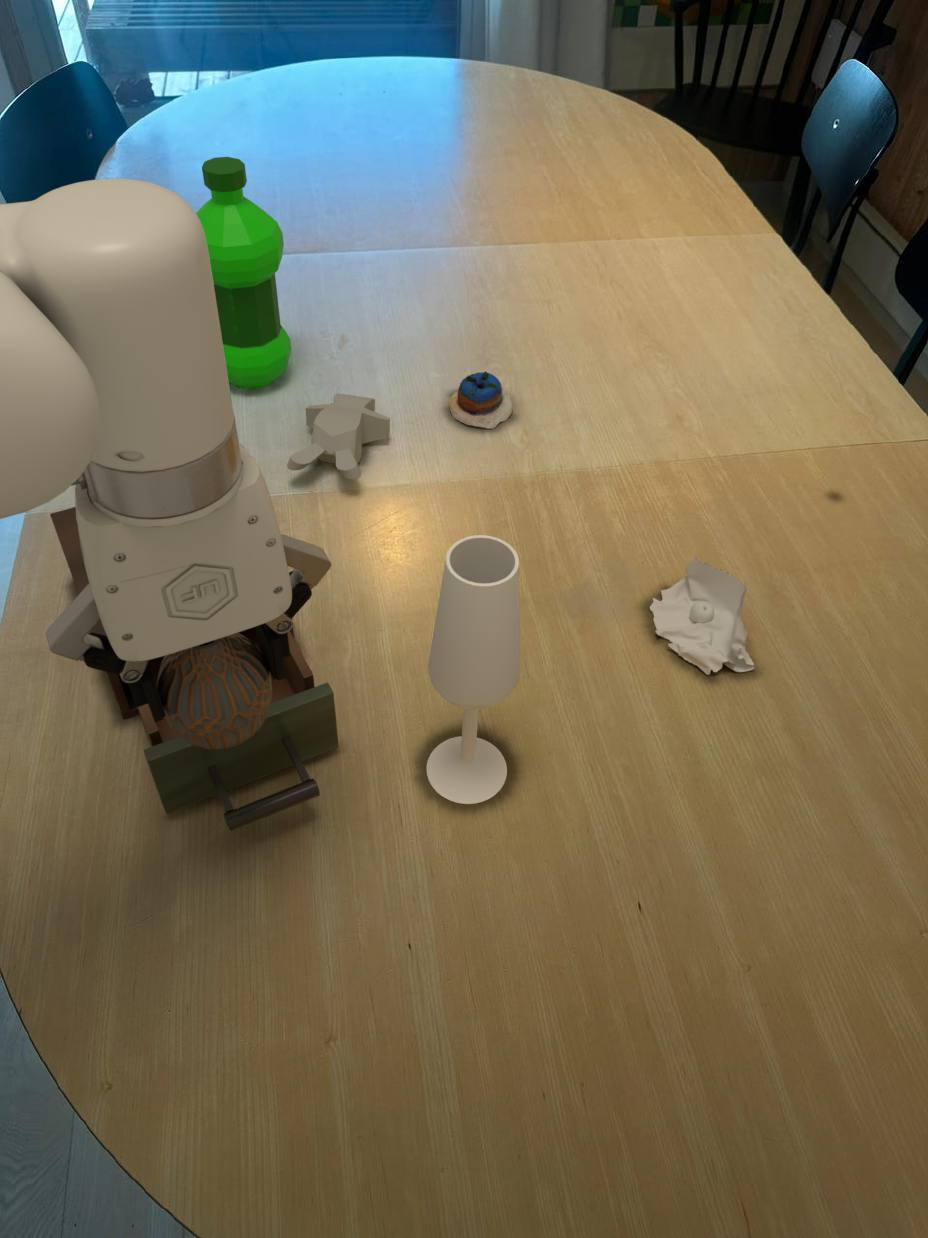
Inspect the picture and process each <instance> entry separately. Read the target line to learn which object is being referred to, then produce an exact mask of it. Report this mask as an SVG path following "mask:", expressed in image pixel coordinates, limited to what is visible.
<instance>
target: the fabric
mask: <svg viewBox="0 0 928 1238" xmlns="http://www.w3.org/2000/svg"><path fill="white" fill-rule="evenodd" d="M685 572H686V576H684V577H683V578H682V579H680V580H678V581H677V582H676V583H675V584H673V585H672V586H671V587H669V588H667V589H661V592H660V593H661V600H659V599H657V598H655V597H652V602H651V605H649V610H650V612H652V615H653V618H652V621H653V624H654V627H655V629H656V630H655V631H654V632H655V634H656V635H657V636H658V637H659V636H660V637H661V638H663V639H666V640H668V641H669V642H670V643H668V644H667V646H668V647H669V648H670V649H671V650H673V651H674V652H675V653H677V654H678V657H679V656H680V657H681V658H683V660H684V661H687V662H688V663H690V664H692V665H693V666H697V667H698V668H699V670H701V671H702V672H703V673H705V675H707V676H710V675H711V671H712V672H713V673H718V671H720V670H721V669H723V666H725V667H727V668H728V669H730V670H732V671H734V672H735V673H747V672H750V671H753V670H754V669H755V668H756V666H755V663H754V662H753V659H752V658H751V656H750V654H749V653H748V652H747V650H746V649H747V642H746V641H747V639H748V638H747V637H748V635H749V632H748V630H747V628H746V626H745V625H744V622H743V621H742V616H743V615H742V613H743V607H744V601H745V596H746V590H747V587H746V585H744V583H743V582H742V580H740V579H738V578H736V577H735V576H734V575H733V574H730V573H729V572H728V571H724V570H723V569H721V568H718V567H713V566H712V565H711V564H709V563H707V562H702V561H701V560H698V557H697V555H694V556H693V558H692V559H691V560H690V562H689V563H688V564H687V565H686V567H685Z"/></svg>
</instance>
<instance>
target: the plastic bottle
mask: <svg viewBox="0 0 928 1238" xmlns="http://www.w3.org/2000/svg"><path fill="white" fill-rule="evenodd" d="M201 171H202V178H203V185H204V186H205V187H206V188H207V189H208V190H210V194H211V198H210V199H209V200H208V201H206V202H205V203H204V204H203V205H202V206H201V207H200V208H199V209H198V210H197V211H196V212H195V213H196V214H197V216H198V218H199V219H200V222H201V224H202V227H203V229H204V232H205V237H206V242H207V246H208V251H209V258H210V264H211V271H212V277H213V284H214V290H215V297H216V303H217V310H218V316H219V323H220V329H221V335H222V342H223V348H224V355H225V361H226V368H227V374H228V380H229V384H232V385H234V386H236V387H237V388H240V389H245V390H249V391H251V390H258V389H264V388H266V387H267V386H269V385H271V384H272V383H273V382H274V381H275V380H277V378H279V377H280V376H282V375H283V374H284V372H285V371H286V369H287V365H288V363H289V358H290V355H291V352H292V341H291V338H290V337H289V335H288V333H287V331H286V329H285V328H284V327H283V326H282V324H281V317H280V316H281V315H280V307H279V298H278V290H277V280H276V273H277V272H278V271H279V267H280V265H281V262H282V258H283V255H284V246H285V245H284V233H283V230H282V229H281V226H280V225H279V223H278V221H277V220H275V219H274V218H273V217H272V216H271V215H270V214H268V213H267V212H266V211H265V210H264V209H263V208H261V206H259V205H258V204H256V203H254V202H253V201H252V200H251V199H249V198H247V197H246V196H244V190H243V189H244V188H245V187H246V185H247V181H248V179H247V171H246V164H245V163H244V162H243V161H242V160H241V159H240V158H236V157H230V156H219V157H212V158H210V159H208V160H205V161H204V162H203V164H202V166H201Z"/></svg>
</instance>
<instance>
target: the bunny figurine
mask: <svg viewBox="0 0 928 1238" xmlns="http://www.w3.org/2000/svg"><path fill="white" fill-rule="evenodd" d="M305 422H306V426H307V427H308V428H310V429H312V436H311V444H310V445H308V446H305V447H304V448H301V449H300V450H298V451H295V452H294V453H293V454H291V455H290V458H289V459H288V461H287V463H286V468H287V469H288V470H290V471H301V470H303V469H305V468H307V467H308V466H309V465H311V463H312V462H313V461H315V460H316V459H317V460H320V461H321V462H324V463H331V464H335V467H336V468H337V470H338V471H339V472H340V475H341V476H342V477H343V478H345V479H349V480H358V479H359V478H361V477H362V471H361V469H360V466H359V462H360V461H361V458H362V453H363V444H366V443H370V442H371V443H372V442H375V441H380V440H384V439H388V438H390V435H391V417H389V416H386V415H383V414H381V413H378V412H376V398H373V397H367V396H358V395H353V394H346V393H334V394H333V402H332V403H326V404H316V405H315V404H314V405H308V406H306V407H305Z"/></svg>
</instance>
